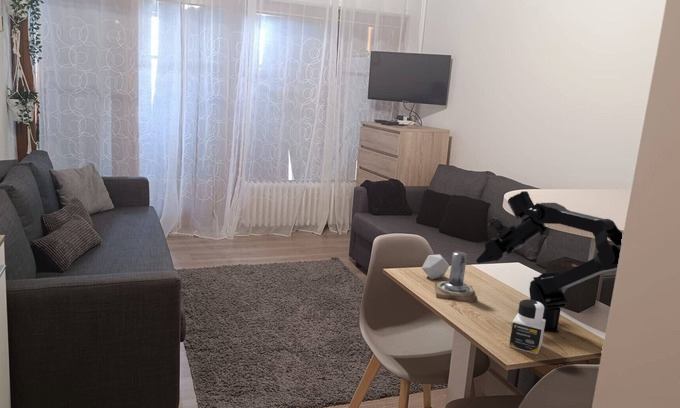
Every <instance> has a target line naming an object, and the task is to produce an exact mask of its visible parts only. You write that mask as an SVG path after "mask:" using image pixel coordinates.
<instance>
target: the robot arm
mask: <svg viewBox="0 0 680 408" xmlns="http://www.w3.org/2000/svg"><path fill="white" fill-rule="evenodd" d="M507 204H508V205H509V208H510V209H511V212H512V213H513V215H514V217H515V218H516V219H518V220H521V221H520V222H519V223H517V224H513V225H512V224H511V223H510V222H508V220H505V219H504V218H503V217H502V216H499V215H498V214H497V215H494V216H493V217H492V218H491V219H490V220H488V223H487V226H488V228H490V229H492V230H494V231H495V232H496V233H498V235H497V237H492V238H490V239H488V240H487V241H485V242H484V247H485V250H484V251H483V252H482V253H481V254H480V255H479V257H477V259H476V263H477V264H482V263H489V262H495V261H496V262H498V261H500V260H501V259H503V258H505V257H506V256H507V254H512V253H514V252H516V251H518V250H520V249H521V248H523V246H524V245H525V244H527V243H528V242H529V241H530V240H532V239H534V238H535V237H537V236H538V235H541V236H542V237H545V238H549V237H550V230H551V228H550V227H548V226H546V224H547V225H548V224H549V225H550V224H551V225H552V224H553V225H554V224H555V225H563V226H566V227H570V228H572V229H573V228H574V229H576V230H577V229H578V230H581V231H585V232H589V233H592V235H593V236H594V242H595V248H596V250H597V253H596V254H595V255H594V257H593V258H592V259H589V260H587V261H585V262H583V263H581V264H578V265H576V266H574V267H572V268H569V269H568V270H565V271H563V272H561V273H560V272H559V271H552V272H543V273H542V274H539V276H535V277H534V276H533V277H532V278H533V279H532V280H531V281H530V283H529V287H528V289H529V290H528V291H529V298H530V299H529V300H535V301H538V302H540V303H541V304H543V306H544V313H543V319H545V320H546V321H545V327H544V332H545V331H547V332H553V333H554V332H555V333H559V332H560V330H559V327H558V326H559V321H560V317H561V308H566V306H567V304H568V303H569V302H568V300H567V297H566V295H565V292H566V291H567V290H568V288H570V287H573V286H576V285H578V284H580V283H583V282H585V281H586V280H589V279H592V278H595V277H597V276H599V275H602V274H604V273H607V272H611V271H617V264H618V258H619V252H620V246H621V239H622V233H623V232H622V231H621V230H620V228H618V227H617V225H616V223H615V222H614V220H612V219H609V218H601V217H598V216H593V215H589V214H584V213H581V212H577V211H571V210H570V209H567V208H566V207H565V206H563V204H559V203H557V202H537V203H535V204H534V202H533V200H532V198H531V196H530V194H529V192H528V191H526V190H525V191H520V193H517V194H514V195H513V196H510V197H509V198H508V200H507ZM608 239H609V240H610V241H611V242H612V243H613V244H611V243H610V241H609V240H608Z"/></svg>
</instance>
